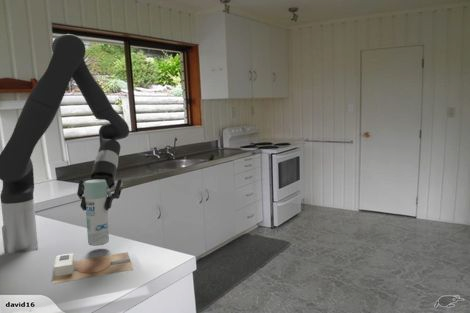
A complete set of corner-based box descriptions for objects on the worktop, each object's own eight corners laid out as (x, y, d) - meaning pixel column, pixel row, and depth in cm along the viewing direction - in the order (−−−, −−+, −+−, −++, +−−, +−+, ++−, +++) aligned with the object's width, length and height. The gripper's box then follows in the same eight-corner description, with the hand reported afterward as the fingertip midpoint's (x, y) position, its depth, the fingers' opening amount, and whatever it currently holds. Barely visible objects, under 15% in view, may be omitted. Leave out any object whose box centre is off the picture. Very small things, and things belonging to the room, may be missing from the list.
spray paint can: (113, 241, 114) (110, 180, 112) (93, 247, 110) (90, 183, 107) (103, 237, 119) (100, 178, 116) (84, 242, 114) (80, 181, 112)
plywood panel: (53, 289, 91) (52, 283, 91) (57, 268, 104) (57, 262, 104) (133, 274, 99) (133, 268, 99) (128, 256, 112) (127, 251, 112)
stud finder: (72, 273, 97) (72, 263, 97) (54, 276, 95) (54, 266, 95) (73, 261, 105) (73, 252, 105) (57, 264, 104) (56, 255, 103)
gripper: (80, 160, 118) (67, 203, 108) (124, 159, 119) (115, 202, 108) (87, 173, 124) (75, 215, 114) (129, 172, 125) (121, 214, 114)
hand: (95, 209), depth 111 cm, fingers closed on spray paint can, 6 cm apart
